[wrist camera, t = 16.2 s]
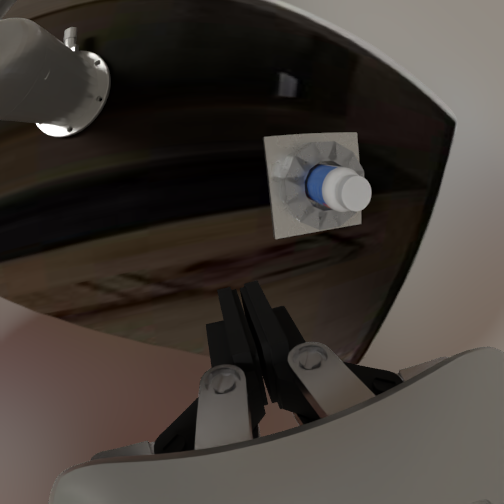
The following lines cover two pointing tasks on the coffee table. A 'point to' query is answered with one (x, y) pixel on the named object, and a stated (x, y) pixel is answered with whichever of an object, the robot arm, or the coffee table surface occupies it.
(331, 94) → the coffee table surface
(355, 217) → the ring socket
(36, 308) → the coffee table surface
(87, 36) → the coffee table surface
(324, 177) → the pill bottle
